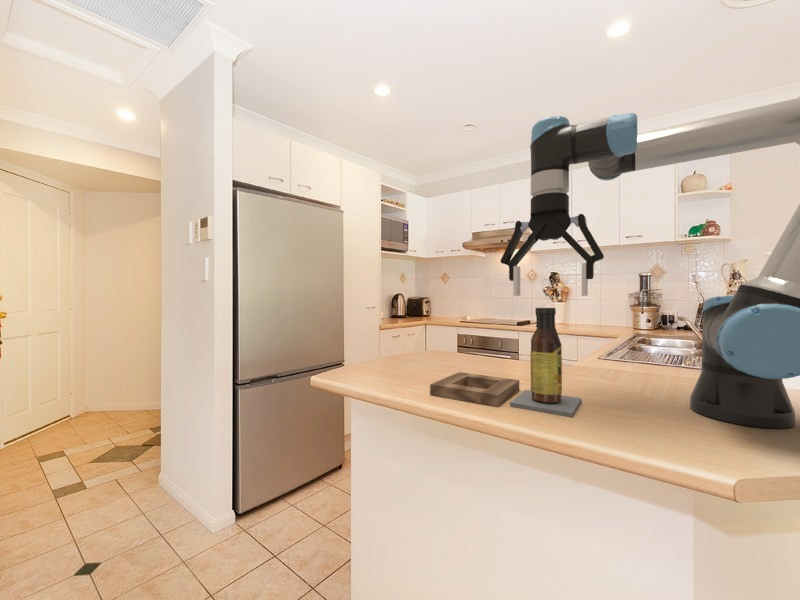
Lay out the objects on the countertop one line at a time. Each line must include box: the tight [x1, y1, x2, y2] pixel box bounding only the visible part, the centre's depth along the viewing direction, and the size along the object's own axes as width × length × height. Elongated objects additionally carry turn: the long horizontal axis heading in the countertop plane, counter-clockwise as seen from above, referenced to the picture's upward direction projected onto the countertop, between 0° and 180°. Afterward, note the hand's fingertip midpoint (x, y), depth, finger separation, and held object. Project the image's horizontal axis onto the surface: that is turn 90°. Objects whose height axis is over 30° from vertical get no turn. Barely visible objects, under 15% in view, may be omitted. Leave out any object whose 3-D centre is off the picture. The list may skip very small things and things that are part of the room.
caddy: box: [429, 371, 520, 408], centre depth 88 cm, size 16×16×2 cm
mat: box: [509, 389, 582, 418], centre depth 79 cm, size 12×12×1 cm
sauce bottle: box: [530, 307, 563, 403], centre depth 79 cm, size 7×6×20 cm
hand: (549, 296), depth 79 cm, fingers open, 13 cm apart
